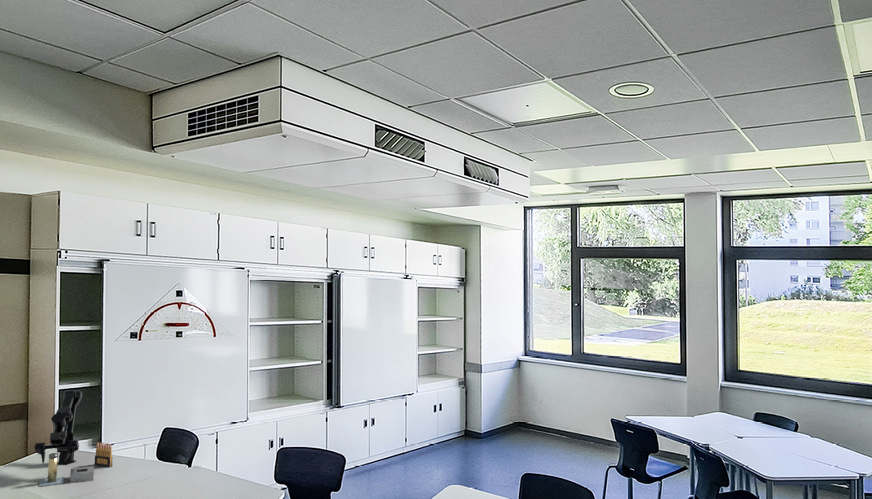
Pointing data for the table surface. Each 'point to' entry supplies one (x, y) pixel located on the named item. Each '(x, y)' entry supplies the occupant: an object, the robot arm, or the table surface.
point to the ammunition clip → (103, 455)
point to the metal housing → (81, 474)
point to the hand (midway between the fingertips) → (53, 462)
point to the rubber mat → (46, 483)
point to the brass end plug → (52, 467)
